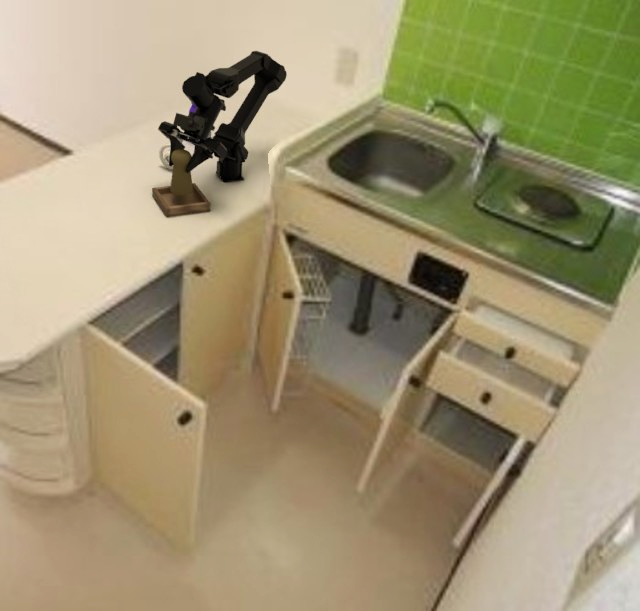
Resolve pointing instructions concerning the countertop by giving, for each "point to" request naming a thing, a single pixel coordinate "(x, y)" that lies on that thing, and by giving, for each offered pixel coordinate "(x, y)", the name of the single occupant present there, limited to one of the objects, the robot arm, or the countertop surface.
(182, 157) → the cork
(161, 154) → the ring around a ball
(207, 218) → the countertop surface
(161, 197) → the walnut tray
